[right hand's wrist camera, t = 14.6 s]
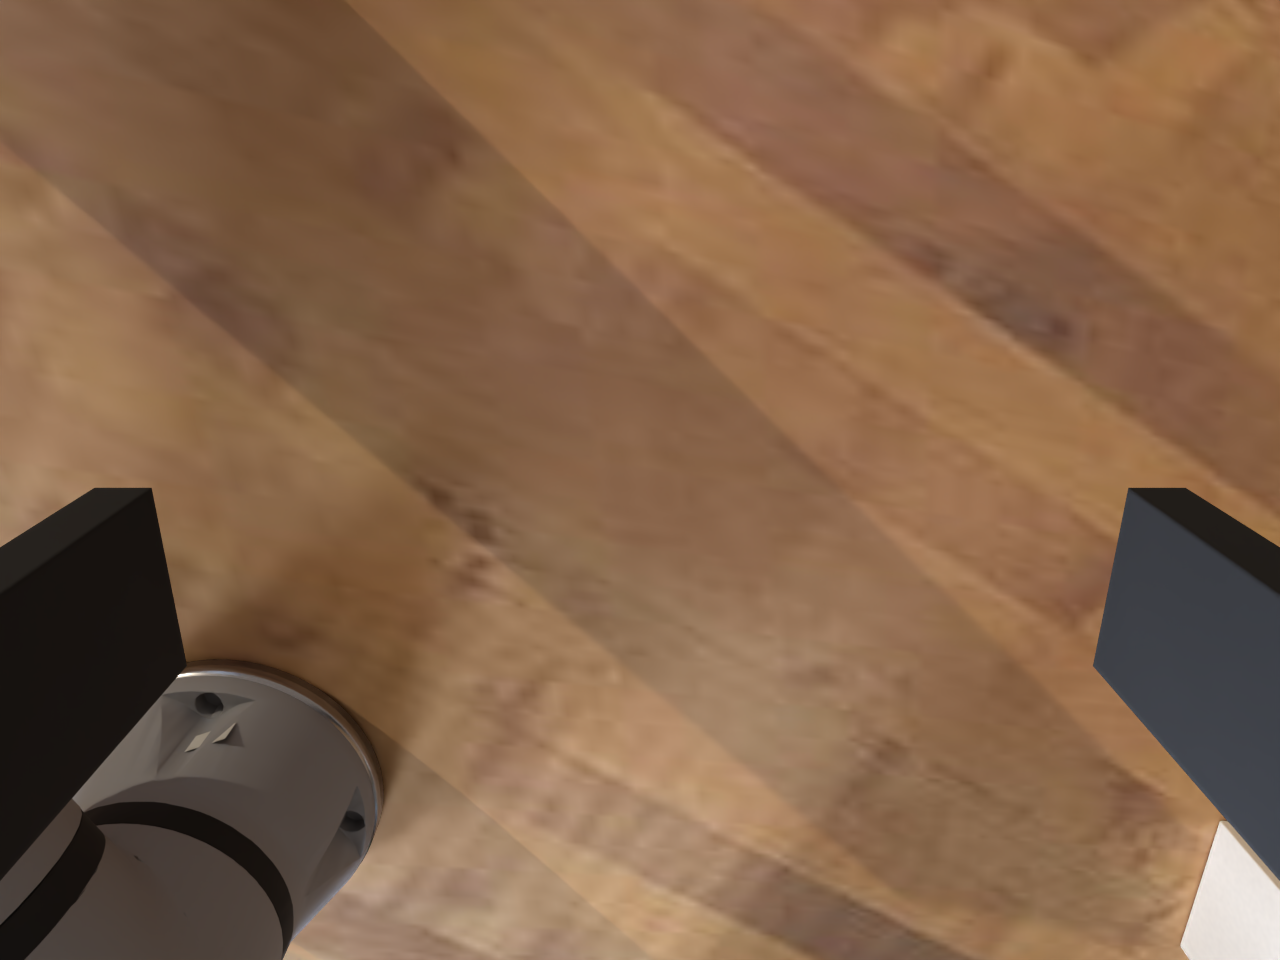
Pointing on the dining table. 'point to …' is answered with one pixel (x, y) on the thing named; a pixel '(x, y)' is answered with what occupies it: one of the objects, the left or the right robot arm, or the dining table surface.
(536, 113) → the dining table surface
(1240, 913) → the block
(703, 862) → the dining table surface
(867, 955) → the dining table surface
